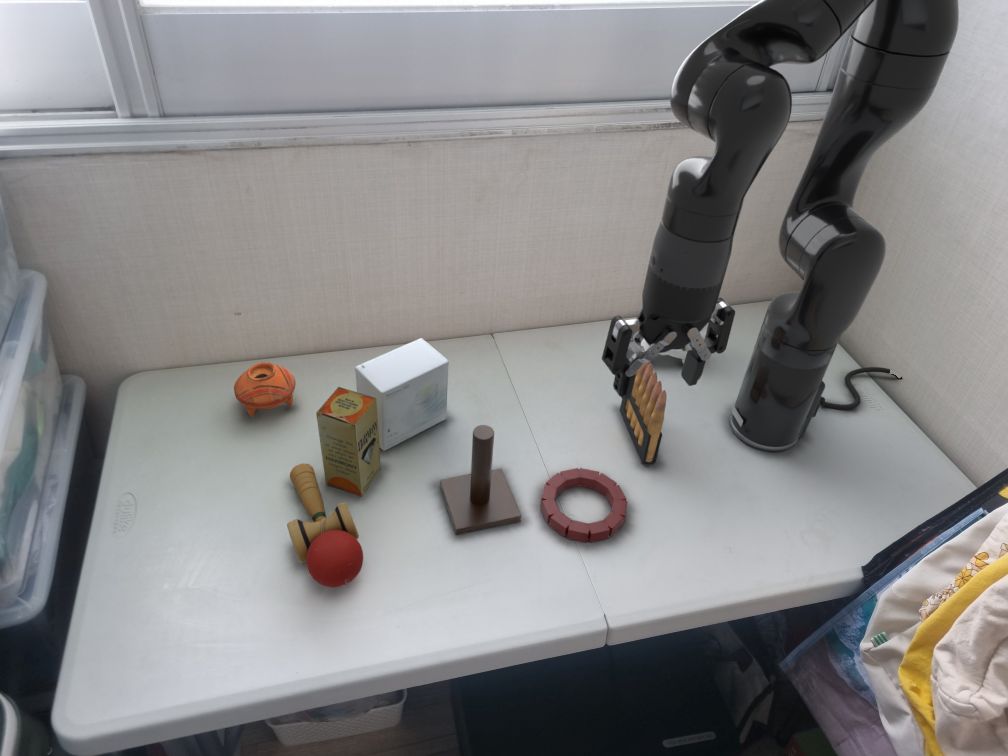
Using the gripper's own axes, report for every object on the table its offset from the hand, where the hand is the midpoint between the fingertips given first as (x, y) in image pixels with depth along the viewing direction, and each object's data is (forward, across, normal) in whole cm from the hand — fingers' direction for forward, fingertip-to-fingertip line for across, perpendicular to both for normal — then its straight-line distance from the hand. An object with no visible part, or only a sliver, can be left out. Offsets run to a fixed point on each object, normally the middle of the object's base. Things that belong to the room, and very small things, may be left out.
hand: (656, 388), depth 87 cm
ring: (+16, -8, -1) cm, 18 cm away
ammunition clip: (+16, +5, +8) cm, 19 cm away
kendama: (+17, -38, +4) cm, 42 cm away
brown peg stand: (+16, -19, +3) cm, 26 cm away
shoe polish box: (+17, -33, +12) cm, 39 cm away
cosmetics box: (+17, -24, +20) cm, 35 cm away
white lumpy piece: (+16, +17, +22) cm, 32 cm away
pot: (+17, -41, +29) cm, 53 cm away
